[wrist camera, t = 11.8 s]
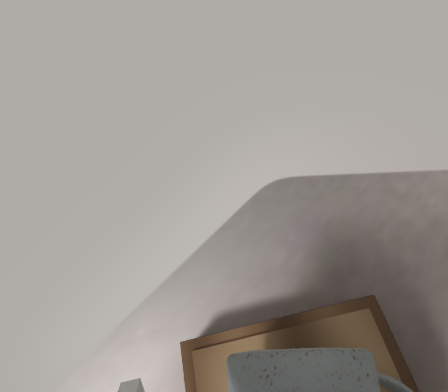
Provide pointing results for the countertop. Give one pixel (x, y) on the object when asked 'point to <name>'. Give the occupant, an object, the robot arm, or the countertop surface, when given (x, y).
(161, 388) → the countertop surface
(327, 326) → the walnut base
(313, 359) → the ceramic mug
